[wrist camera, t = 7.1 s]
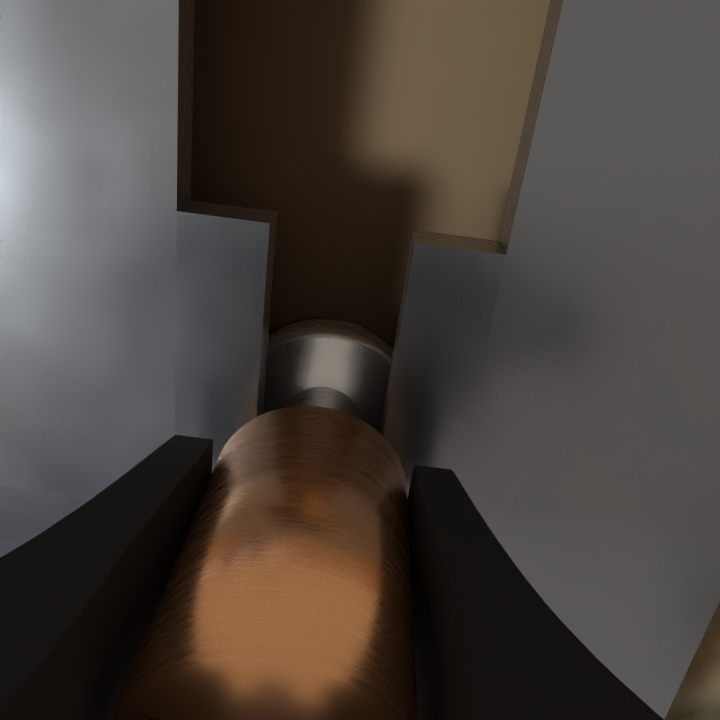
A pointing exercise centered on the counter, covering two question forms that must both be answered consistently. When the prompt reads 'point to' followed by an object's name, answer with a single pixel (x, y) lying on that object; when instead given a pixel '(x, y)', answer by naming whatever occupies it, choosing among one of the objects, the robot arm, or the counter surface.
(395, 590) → the peg
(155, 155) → the keyhole plate
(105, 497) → the robot arm
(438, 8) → the counter surface
